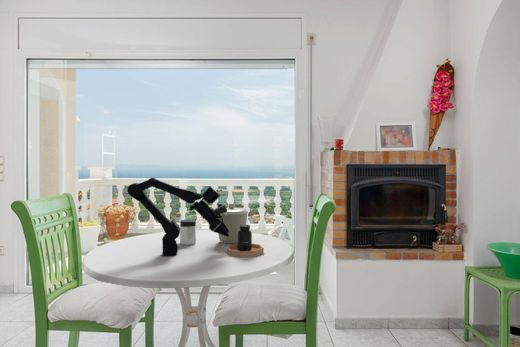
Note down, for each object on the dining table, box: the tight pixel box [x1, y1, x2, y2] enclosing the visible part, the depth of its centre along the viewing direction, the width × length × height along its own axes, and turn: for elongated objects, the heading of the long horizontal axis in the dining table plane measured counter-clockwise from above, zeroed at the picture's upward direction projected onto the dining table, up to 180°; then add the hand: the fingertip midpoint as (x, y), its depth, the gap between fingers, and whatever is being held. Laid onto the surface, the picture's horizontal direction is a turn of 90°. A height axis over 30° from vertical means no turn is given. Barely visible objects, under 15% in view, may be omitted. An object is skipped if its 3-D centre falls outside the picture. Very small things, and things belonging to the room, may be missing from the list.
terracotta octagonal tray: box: [225, 243, 264, 258], centre depth 175 cm, size 17×17×2 cm
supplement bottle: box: [236, 224, 253, 251], centre depth 174 cm, size 7×7×12 cm
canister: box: [217, 202, 249, 245], centre depth 197 cm, size 18×18×21 cm
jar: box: [179, 219, 197, 246], centre depth 194 cm, size 9×8×12 cm
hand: (228, 234), depth 174 cm, fingers open, 9 cm apart
